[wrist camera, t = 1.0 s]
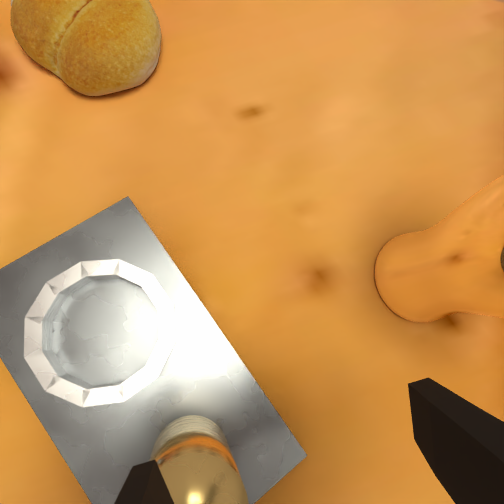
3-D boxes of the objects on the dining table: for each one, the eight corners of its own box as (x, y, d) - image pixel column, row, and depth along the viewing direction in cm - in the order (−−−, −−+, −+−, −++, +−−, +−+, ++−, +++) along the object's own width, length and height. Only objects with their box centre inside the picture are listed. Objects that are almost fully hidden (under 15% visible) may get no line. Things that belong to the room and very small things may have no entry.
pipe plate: (302, 450, 22) (316, 464, 19) (152, 583, 19) (147, 619, 17) (130, 202, 23) (123, 186, 21) (-30, 294, 21) (-59, 288, 18)
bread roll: (113, 123, 25) (100, 84, 21) (0, 43, 24) (-35, -12, 21) (189, 42, 27) (189, -7, 23) (85, -31, 27) (69, -93, 23)
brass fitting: (212, 508, 20) (225, 599, 13) (138, 483, 19) (113, 562, 12) (238, 429, 21) (264, 474, 14) (169, 404, 20) (161, 438, 14)
